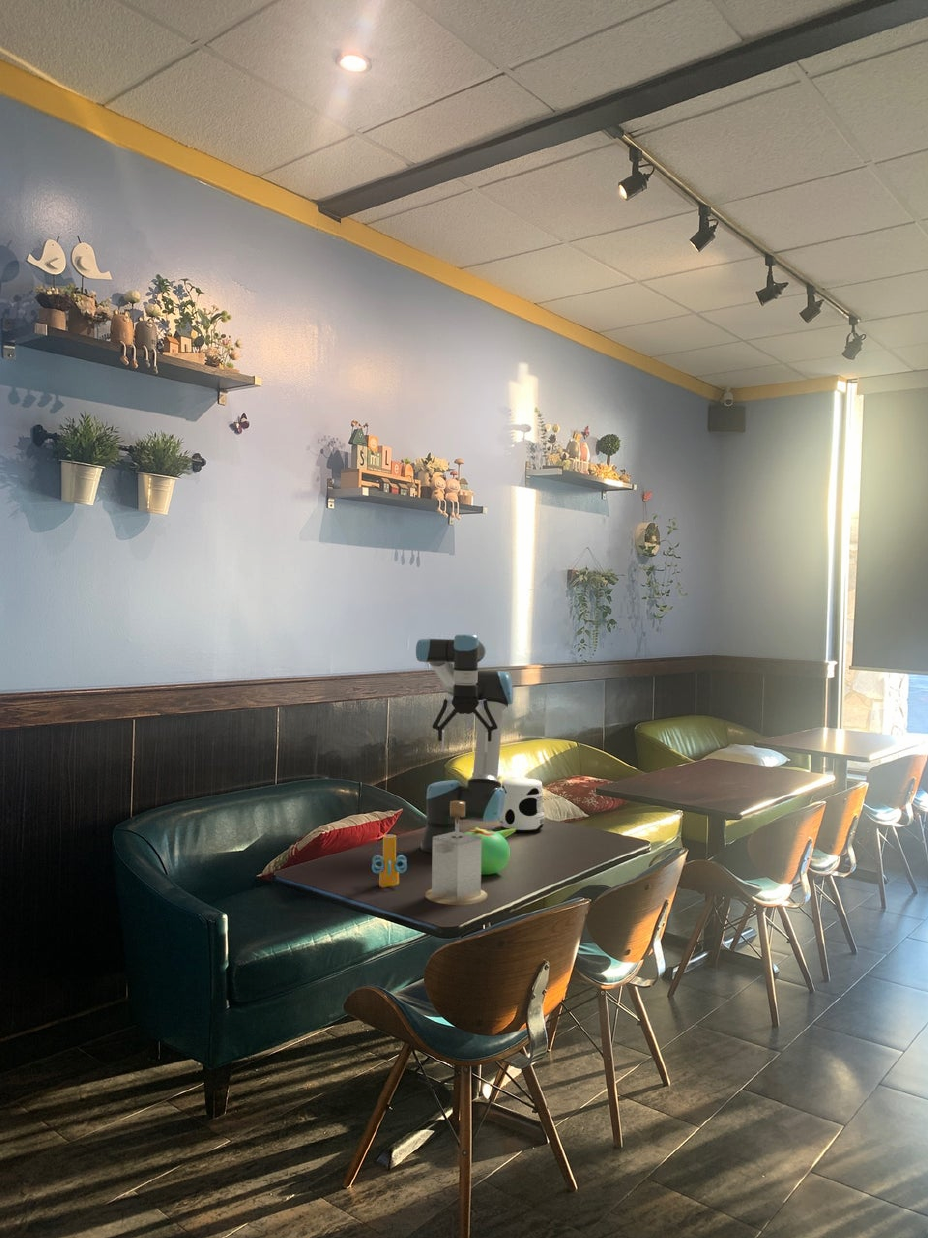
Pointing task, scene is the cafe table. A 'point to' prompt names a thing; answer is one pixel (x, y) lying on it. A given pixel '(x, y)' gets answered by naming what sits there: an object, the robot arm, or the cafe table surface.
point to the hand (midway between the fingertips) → (464, 751)
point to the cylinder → (389, 863)
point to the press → (456, 866)
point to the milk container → (522, 805)
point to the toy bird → (493, 849)
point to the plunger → (457, 814)
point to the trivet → (464, 902)
